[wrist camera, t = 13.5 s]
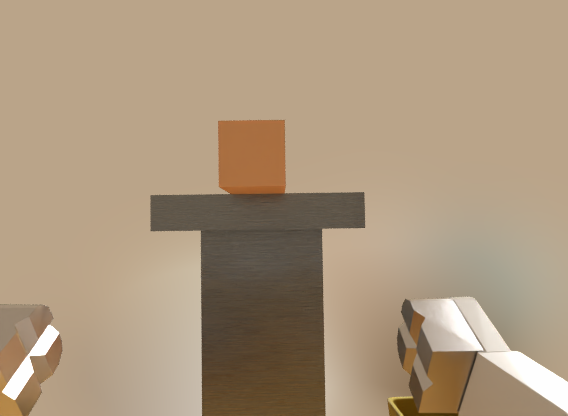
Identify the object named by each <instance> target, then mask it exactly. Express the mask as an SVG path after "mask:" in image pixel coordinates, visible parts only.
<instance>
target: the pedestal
mask: <svg viewBox="0 0 568 416" xmlns="http://www.w3.org/2000/svg"><path fill="white" fill-rule="evenodd" d="M323 228H365V205H364V192H355V193H289V194H288V193H286V194H285V193H284V194H216V195H151V231H193V230H201V298H202V299H201V303H202V305H201V309H202V416H325V371H324V370H325V367H324V313H323V265H322V264H323V263H322V262H323V261H322V229H323Z"/></svg>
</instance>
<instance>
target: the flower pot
mask: <svg viewBox="0 0 568 416" xmlns="http://www.w3.org/2000/svg"><path fill="white" fill-rule="evenodd" d="M387 401H388V407H389V415H390V416H458V414H459V413H418V410H417V407H416V405H415V402H414V399H413V397H393V398H388V399H387Z"/></svg>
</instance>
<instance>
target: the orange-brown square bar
mask: <svg viewBox="0 0 568 416" xmlns="http://www.w3.org/2000/svg"><path fill="white" fill-rule="evenodd" d="M284 123H285V120H253V121H252V120H249V121H248V120H247V121H218V134H219V135H218V137H219V187H220V188H222V189H223V190H225V191H227V192H228V193H230V194H284V193H285V186H286V185H285V184H286V182H285V124H284Z"/></svg>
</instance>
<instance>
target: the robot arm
mask: <svg viewBox="0 0 568 416" xmlns="http://www.w3.org/2000/svg"><path fill="white" fill-rule="evenodd" d="M401 313H402V315H403V318H404V322H403V323H402V324H401V325H400V326H399V328H398V336H397V345H398V353H399V358H400V361H401V364H402V368H403V369H404V370H405V371H407V372H408V373H409V374H410V375H411V377H410V382H409V388H410V391H411V393H412V396H413V399H414V402H415V405H416V407H417V410H418V413H459V414H458V416H568V382H566V381H565V380H563V379H562V378H560V377H558V376H557V375H555V374H554V373H552V372H550V371H549V370H547V369H546V368H544V367H543V366H541V365H539V364H537V363H536V362H534V361H533V360H531V359H530V358H528V357H526V356H525V355H523V354H522V353H520V352H519V351H511V350H510V349H509V347H508V346H507V345H506V343H505V342H504V340H503V339H502V337H501V336H500V334H499V333H498V331H497V330H496V329H495V327H494V326H493V324H492V323H491V321H490V320H489V318H488V317H487V315H486V314H485V313H484V311H483V310H482V309H481V307H480V305H479V304H478V302H477V301H476V300H475V299H474V298H472V297H450V298H427V299H425V298H423V299H405V301H404V302H403V305H402V311H401ZM52 320H53V316H52V313H51V312H50V309H49V307H47V306H45V305H7V304H0V416H28V415H29V413H30V411H31V410H32V408H33V407H34V405H35V403H36V402H37V400H38V398H39V397H40V395H41V393H42V390H41V385H40V384H41V383H42V382H44V381H45V380H46V379H48V378H49V377H50V376H52V375H53V373H54V372H55V370H56V368H57V366H58V365H59V362H60V358H61V354H62V340H61V337H60V334H59V332H57V331H56V330H55V329H53V328H52V327H51V326H50V323H51V322H52Z"/></svg>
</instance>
